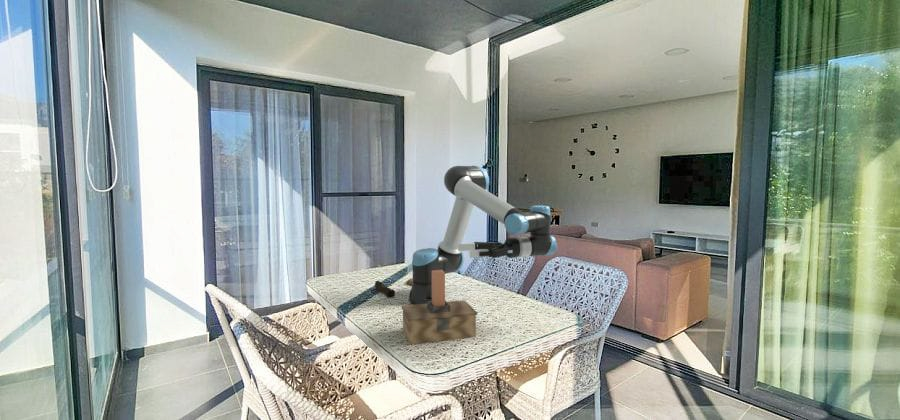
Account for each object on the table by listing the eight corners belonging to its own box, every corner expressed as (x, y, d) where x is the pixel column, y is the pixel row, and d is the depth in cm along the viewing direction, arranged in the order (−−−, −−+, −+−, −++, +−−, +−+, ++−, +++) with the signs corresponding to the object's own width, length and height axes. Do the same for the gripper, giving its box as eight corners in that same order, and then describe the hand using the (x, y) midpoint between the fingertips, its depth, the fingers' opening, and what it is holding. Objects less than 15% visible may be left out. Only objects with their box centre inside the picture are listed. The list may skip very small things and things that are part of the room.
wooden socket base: (408, 345, 139) (408, 313, 138) (401, 329, 154) (401, 300, 153) (477, 337, 146) (477, 307, 145) (464, 322, 160) (464, 295, 159)
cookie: (410, 287, 210) (410, 282, 210) (404, 282, 220) (404, 277, 219) (428, 285, 214) (428, 279, 214) (421, 280, 224) (421, 275, 224)
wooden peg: (434, 311, 147) (434, 273, 145) (431, 307, 150) (431, 270, 149) (445, 310, 148) (444, 272, 146) (442, 306, 151) (442, 269, 150)
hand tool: (395, 297, 194) (395, 288, 193) (387, 298, 192) (387, 289, 191) (381, 288, 210) (380, 279, 210) (373, 289, 208) (373, 280, 208)
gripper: (532, 263, 144) (475, 268, 138) (503, 251, 168) (454, 254, 162) (532, 242, 143) (475, 246, 138) (504, 233, 167) (454, 235, 161)
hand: (463, 250), depth 150 cm, fingers open, 13 cm apart
